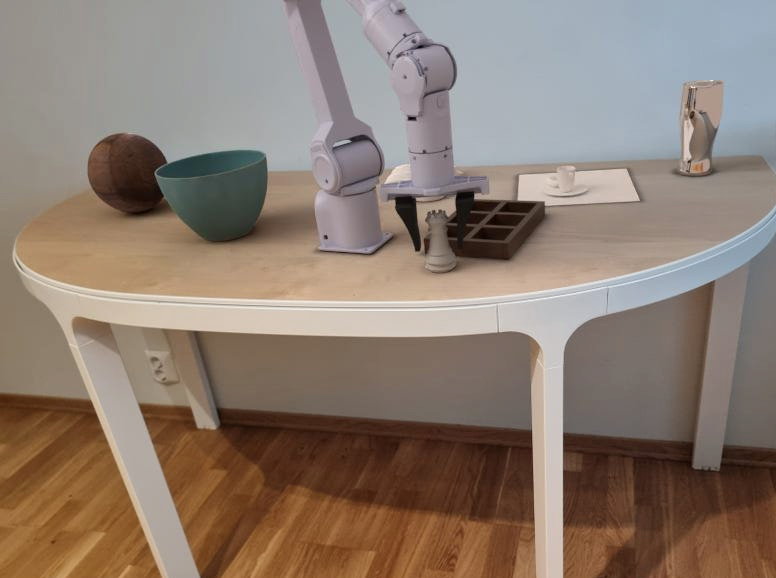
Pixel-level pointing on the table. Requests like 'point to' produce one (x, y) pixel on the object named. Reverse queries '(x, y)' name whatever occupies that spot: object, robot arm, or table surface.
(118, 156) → the wooden sphere
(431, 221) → the rook chess piece
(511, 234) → the rack
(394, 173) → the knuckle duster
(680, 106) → the beer glass
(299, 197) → the table surface
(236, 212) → the plant pot
